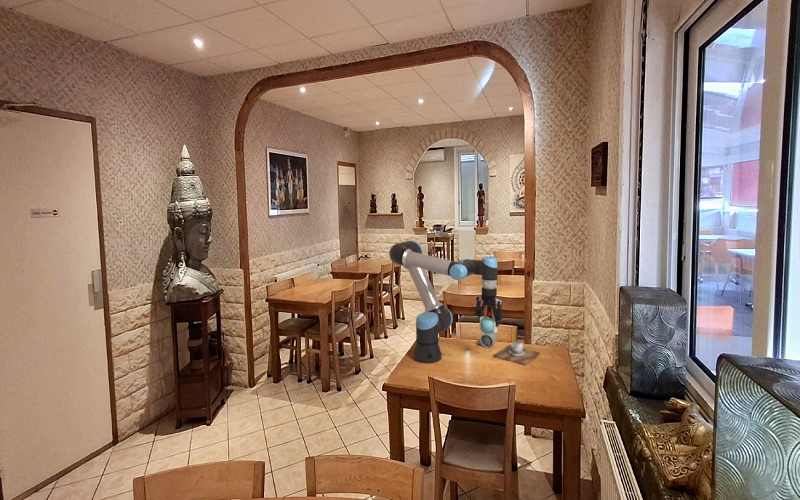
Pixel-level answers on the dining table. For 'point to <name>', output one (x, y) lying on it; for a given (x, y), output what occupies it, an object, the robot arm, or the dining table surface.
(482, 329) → the turquoise round jar
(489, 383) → the dining table surface
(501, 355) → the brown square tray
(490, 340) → the ceramic mug
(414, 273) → the robot arm
